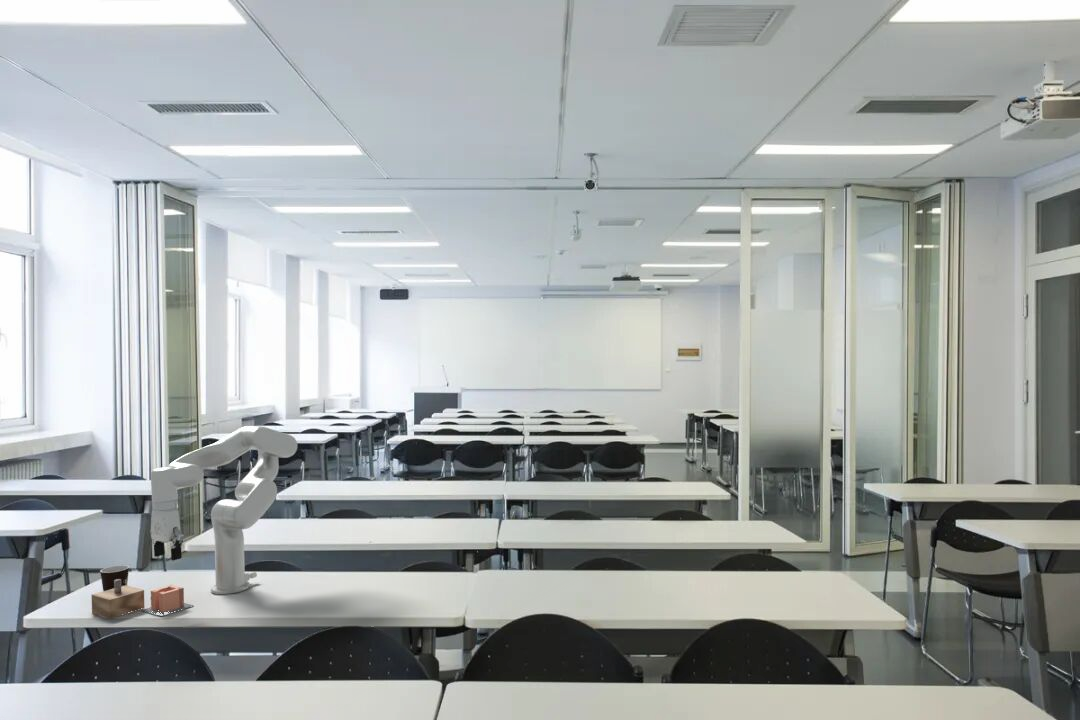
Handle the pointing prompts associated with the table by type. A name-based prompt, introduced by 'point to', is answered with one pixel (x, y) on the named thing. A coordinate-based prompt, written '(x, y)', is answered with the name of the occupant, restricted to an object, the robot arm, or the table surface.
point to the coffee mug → (114, 576)
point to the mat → (167, 611)
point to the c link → (167, 598)
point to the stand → (117, 600)
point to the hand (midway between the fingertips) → (167, 557)
